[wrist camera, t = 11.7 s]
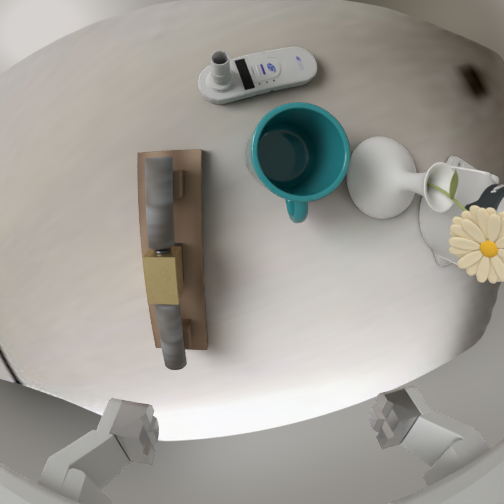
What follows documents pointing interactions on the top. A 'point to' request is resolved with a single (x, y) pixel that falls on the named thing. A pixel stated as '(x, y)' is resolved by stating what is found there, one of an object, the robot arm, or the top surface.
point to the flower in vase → (437, 196)
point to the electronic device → (255, 73)
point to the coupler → (164, 275)
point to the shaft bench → (185, 235)
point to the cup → (298, 155)
